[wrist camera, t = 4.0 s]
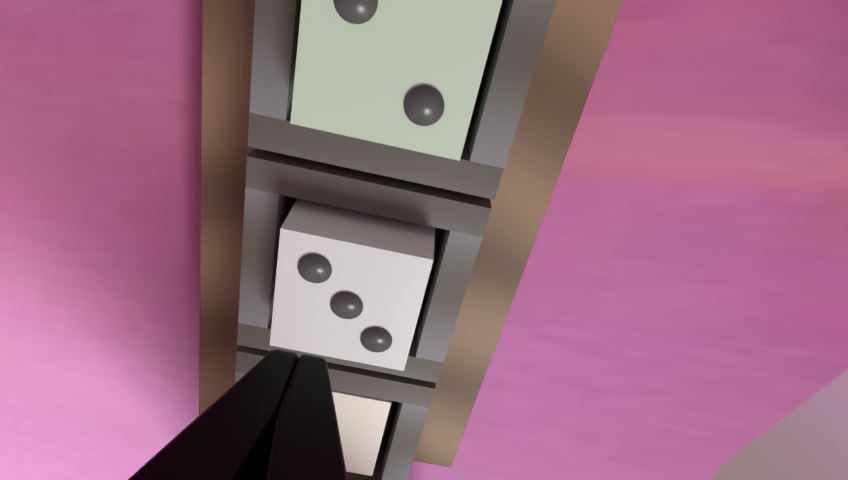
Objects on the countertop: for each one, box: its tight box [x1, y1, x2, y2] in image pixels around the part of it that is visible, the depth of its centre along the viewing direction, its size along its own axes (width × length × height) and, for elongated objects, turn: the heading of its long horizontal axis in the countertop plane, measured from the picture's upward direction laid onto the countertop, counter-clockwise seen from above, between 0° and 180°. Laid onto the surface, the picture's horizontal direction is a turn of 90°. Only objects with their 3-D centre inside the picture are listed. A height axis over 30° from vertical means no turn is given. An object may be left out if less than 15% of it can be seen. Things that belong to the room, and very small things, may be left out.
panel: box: [199, 0, 623, 480], centre depth 20 cm, size 23×12×5 cm, turn 168°
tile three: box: [270, 198, 435, 371], centre depth 18 cm, size 4×4×2 cm
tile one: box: [332, 390, 391, 476], centre depth 23 cm, size 4×4×2 cm
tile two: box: [290, 0, 502, 161], centre depth 14 cm, size 4×4×2 cm
